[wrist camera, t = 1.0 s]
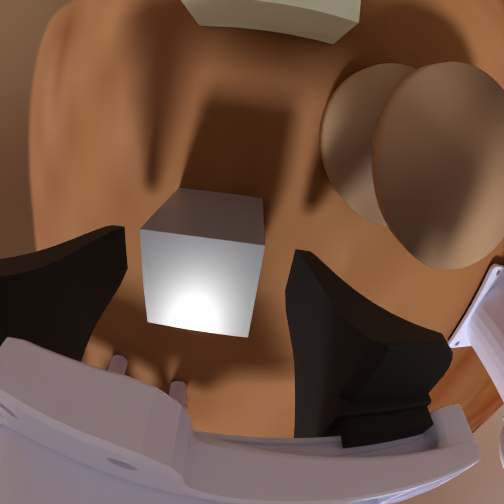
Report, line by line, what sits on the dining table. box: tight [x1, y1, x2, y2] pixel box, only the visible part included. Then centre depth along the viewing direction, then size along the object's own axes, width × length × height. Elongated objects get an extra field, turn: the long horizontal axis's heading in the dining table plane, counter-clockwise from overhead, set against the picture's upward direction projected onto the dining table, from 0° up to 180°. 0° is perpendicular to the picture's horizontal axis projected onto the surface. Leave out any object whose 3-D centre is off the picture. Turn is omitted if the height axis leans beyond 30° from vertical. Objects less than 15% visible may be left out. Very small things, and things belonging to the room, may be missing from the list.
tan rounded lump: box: [319, 62, 504, 270], centre depth 9 cm, size 8×8×6 cm
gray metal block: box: [140, 188, 265, 337], centre depth 12 cm, size 4×4×5 cm
